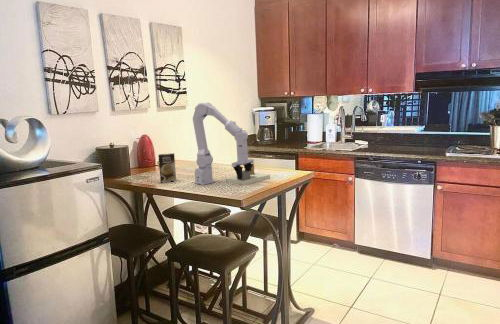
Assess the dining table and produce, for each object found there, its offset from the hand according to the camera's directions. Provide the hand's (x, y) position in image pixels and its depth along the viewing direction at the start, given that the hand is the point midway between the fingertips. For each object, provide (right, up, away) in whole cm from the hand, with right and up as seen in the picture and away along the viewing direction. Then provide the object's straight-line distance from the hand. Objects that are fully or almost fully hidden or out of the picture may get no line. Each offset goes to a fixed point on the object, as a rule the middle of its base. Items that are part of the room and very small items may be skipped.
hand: (243, 177), depth 204 cm
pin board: (+2, -1, +7) cm, 7 cm away
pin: (+4, +2, +13) cm, 13 cm away
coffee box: (-44, -3, +16) cm, 47 cm away
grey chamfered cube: (0, -1, 0) cm, 1 cm away
